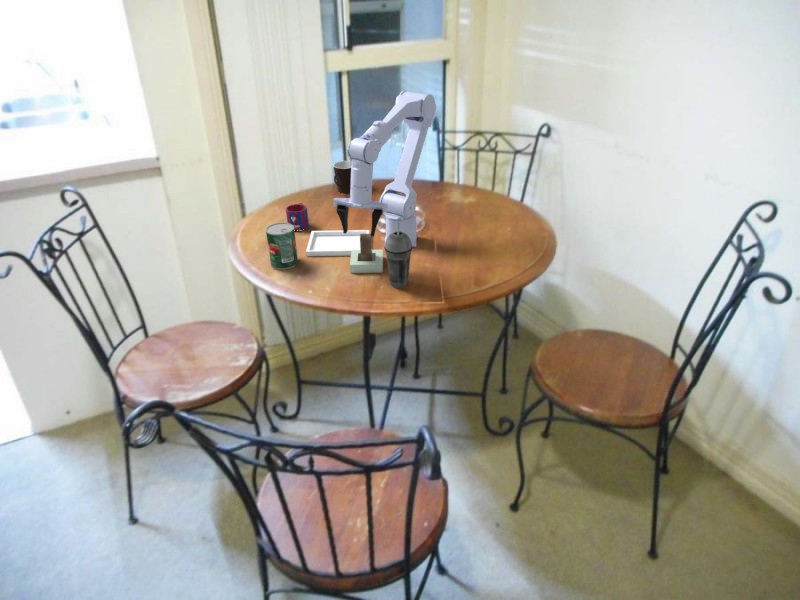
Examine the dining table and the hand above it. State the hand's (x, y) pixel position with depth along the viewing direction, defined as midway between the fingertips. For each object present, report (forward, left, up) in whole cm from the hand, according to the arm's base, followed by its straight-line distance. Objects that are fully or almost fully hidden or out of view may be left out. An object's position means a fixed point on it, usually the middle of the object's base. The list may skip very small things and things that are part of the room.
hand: (359, 233), depth 157 cm
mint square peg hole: (-2, +1, -10) cm, 10 cm away
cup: (+21, -28, -10) cm, 37 cm away
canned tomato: (+22, -2, -10) cm, 25 cm away
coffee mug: (+9, -57, -10) cm, 59 cm away
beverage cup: (-11, +12, -10) cm, 19 cm away
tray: (+7, -12, -10) cm, 18 cm away
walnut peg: (-2, +1, -10) cm, 10 cm away
